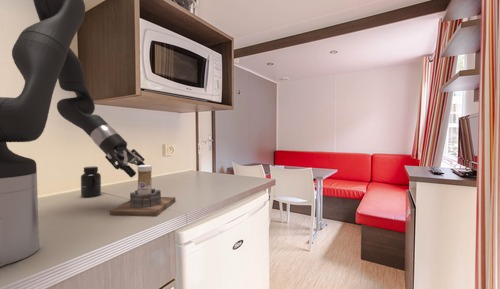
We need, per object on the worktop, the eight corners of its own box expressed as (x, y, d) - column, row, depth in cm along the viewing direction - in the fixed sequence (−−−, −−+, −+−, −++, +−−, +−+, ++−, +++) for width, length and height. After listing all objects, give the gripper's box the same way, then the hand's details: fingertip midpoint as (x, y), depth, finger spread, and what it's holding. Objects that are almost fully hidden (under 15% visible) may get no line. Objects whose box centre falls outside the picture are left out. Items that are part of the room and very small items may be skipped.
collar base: (155, 216, 70) (155, 199, 69) (109, 215, 70) (109, 198, 70) (175, 201, 86) (175, 187, 85) (137, 200, 86) (137, 186, 86)
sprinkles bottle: (136, 205, 75) (136, 166, 74) (138, 201, 79) (138, 164, 79) (151, 204, 76) (151, 165, 76) (152, 200, 81) (152, 164, 80)
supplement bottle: (77, 198, 88) (76, 168, 88) (85, 193, 95) (84, 166, 94) (97, 197, 90) (96, 168, 90) (103, 192, 97) (103, 165, 96)
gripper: (101, 132, 70) (136, 169, 70) (128, 133, 84) (157, 163, 84) (85, 149, 71) (120, 185, 70) (115, 147, 85) (144, 177, 85)
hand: (141, 173), depth 77 cm, fingers open, 8 cm apart
